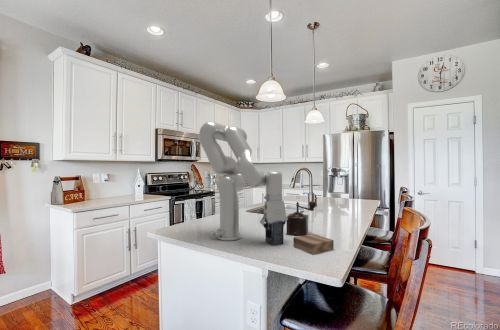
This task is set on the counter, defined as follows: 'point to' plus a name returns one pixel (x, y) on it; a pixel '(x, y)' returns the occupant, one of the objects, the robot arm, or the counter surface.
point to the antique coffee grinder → (299, 221)
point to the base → (313, 243)
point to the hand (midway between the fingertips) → (274, 236)
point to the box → (276, 233)
